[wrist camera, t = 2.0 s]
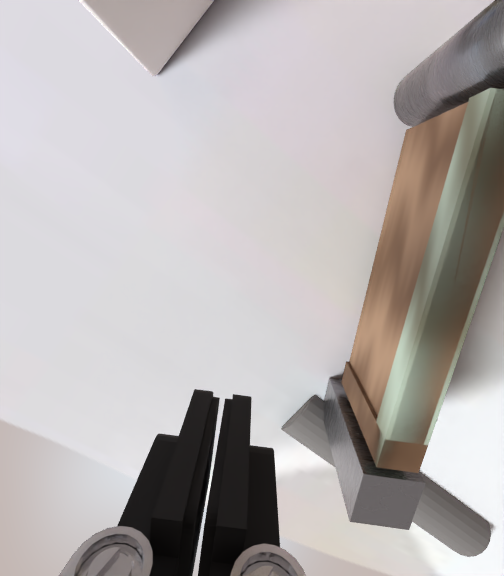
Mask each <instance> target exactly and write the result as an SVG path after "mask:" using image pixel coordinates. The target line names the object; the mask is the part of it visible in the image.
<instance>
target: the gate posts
mask: <svg viewBox="0 0 504 576" xmlns="http://www.w3.org/2000/svg"><path fill="white" fill-rule="evenodd" d="M489 88H497V89H504V0H495V1H494V2H492V3H491V4H490V5H489V6H488V7H487V8H485V9H484V10H483V11H482V12H481V13H480V14H478V15H477V16H476V17H475V18H474V19H472V20H471V21H470V22H469V23H468V24H467V25H465V26H464V27H463V28H462V29H461V30H459V31H458V32H457V33H456V34H455V35H454V36H452V37H451V38H450V39H449V40H448V41H446V42H445V43H444V44H443V45H442V46H441V47H439V48H438V49H437V50H436V51H435V52H433V53H432V54H431V55H430V56H429V57H428V58H426V59H425V60H424V61H423V62H422V63H421V64H419V65H418V66H417V67H416V68H415V69H413V70H412V71H411V72H410V73H409V74H408V75H406V76H405V77H404V78H403V79H402V81H401V82H400V83H399V85H398V87H397V89H396V92H395V96H394V108H395V112H396V114H397V116H398V118H399V119H400V120H401V121H402V122H403V123H404V124H406V125H408V126H412V127H414V126H417V125H419V124H421V123H423V122H425V121H427V120H430V119H432V118H434V117H436V116H438V115H440V114H443V113H445V112H447V111H449V110H451V109H454V108H456V107H458V106H460V105H462V104H464V103H467V102H468V101H469V98H470V97H472V96H475V95H477V94H479V93H481V92H483V91H485V90H487V89H489ZM323 421H324V425H325V429H326V433H327V436H328V440H329V444H330V448H331V452H332V456H333V459H334V463H335V467H336V471H337V475H338V478H339V482H340V486H341V490H342V494H343V498H344V501H345V505H346V509H347V513H348V517H349V520H350V522H356V523H363V524H370V525H378V526H385V527H392V528H399V529H406V530H409V528H410V525H411V523H412V520H413V517H414V514H415V512H416V509H417V506H418V503H419V500H420V498H421V495H422V492H423V489H424V486H425V484H426V482H425V481H424V479H423V477H422V475H421V474H420V472H419V473H414V472H407V471H400V470H393V469H386V468H379V467H376V465H375V462H374V460H373V458H372V455H371V453H370V450H369V448H368V445H367V443H366V441H365V438H364V436H363V433H362V431H361V428H360V426H359V424H358V421H357V419H356V416H355V414H354V412H353V409H352V407H351V404H350V402H349V399H348V397H347V395H346V392H345V390H344V387H343V385H342V380H339V379H332V378H329V382H328V386H327V391H326V395H325V399H324V419H323Z"/></svg>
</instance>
